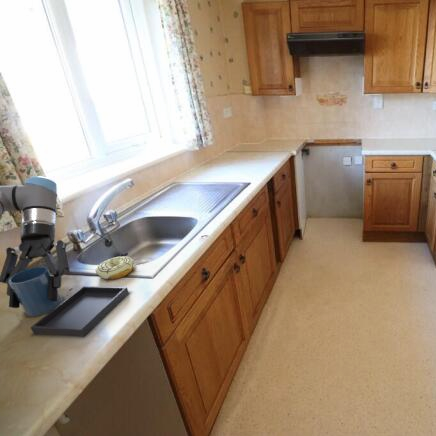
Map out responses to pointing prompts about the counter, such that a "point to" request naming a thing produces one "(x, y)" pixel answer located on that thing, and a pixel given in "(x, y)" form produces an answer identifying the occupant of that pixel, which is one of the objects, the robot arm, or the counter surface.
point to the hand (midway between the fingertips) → (33, 303)
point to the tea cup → (34, 290)
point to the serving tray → (80, 311)
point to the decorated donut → (115, 267)
